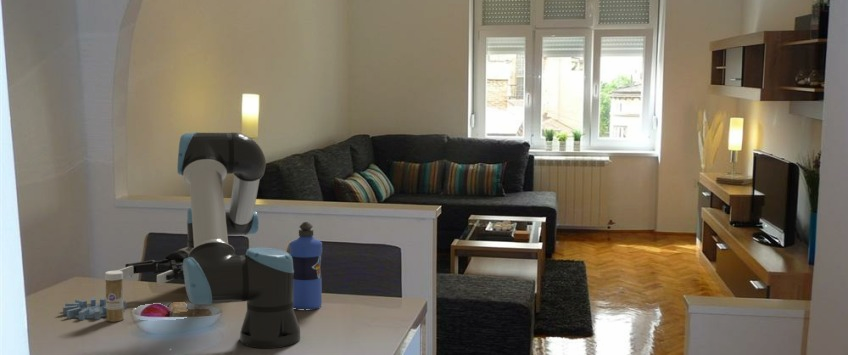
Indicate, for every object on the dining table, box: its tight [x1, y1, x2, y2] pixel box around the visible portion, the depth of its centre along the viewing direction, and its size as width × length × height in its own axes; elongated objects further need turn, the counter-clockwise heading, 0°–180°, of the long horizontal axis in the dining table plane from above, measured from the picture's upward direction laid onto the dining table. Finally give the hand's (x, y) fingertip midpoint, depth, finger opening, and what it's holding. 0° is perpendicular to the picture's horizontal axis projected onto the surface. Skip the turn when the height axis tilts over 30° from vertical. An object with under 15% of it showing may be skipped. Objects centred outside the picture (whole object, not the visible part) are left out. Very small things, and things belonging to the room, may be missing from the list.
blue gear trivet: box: [62, 296, 127, 321], centre depth 227 cm, size 16×16×2 cm
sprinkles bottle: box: [104, 270, 124, 323], centre depth 219 cm, size 5×5×13 cm
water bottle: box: [289, 221, 323, 310], centre depth 235 cm, size 9×9×25 cm
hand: (137, 277), depth 228 cm, fingers open, 13 cm apart
